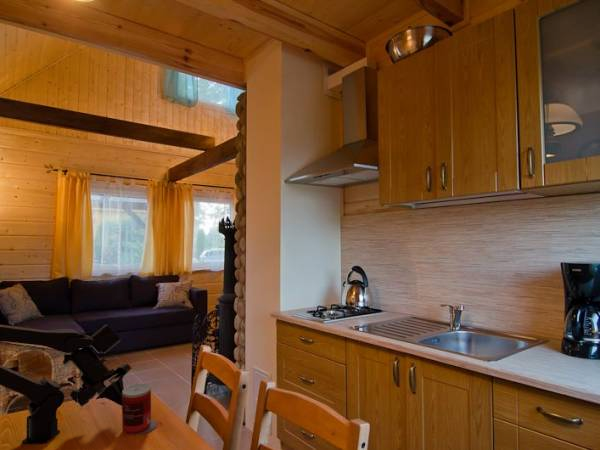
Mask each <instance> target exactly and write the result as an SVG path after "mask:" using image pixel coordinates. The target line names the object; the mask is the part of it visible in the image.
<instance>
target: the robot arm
mask: <svg viewBox="0 0 600 450" xmlns="http://www.w3.org/2000/svg"><path fill="white" fill-rule="evenodd" d="M121 341H122V340H121V339H120V337H119V336H118V334H117V333H116V332H115V331H113V330H112V328H110V326H109V325H107V324H104V325H103V326H102V327H100V329H98V330H97V331H96V332H94V333H93V334H92V335H87V334H81V333H79V332H77V331H76V330H75V329H72V328H61V329H60V328H58V329H51V330H50V329H49V330H45V329H35V328H29V327H21V326H13V325H5V324H0V342H4V343H15V344H26V345H33V346H42V347H46V348H50V349H53V350H55V351H58V352H61V353H66V354H64V355H63V361H62V364H63V365H64V366H65V367H66V366H67V365H69V364H70V363H72V364H73V366H75V367H76V368H77V370H78V371H79V372H80V373H81V376H80V380H81V381H82V384H81V385H80V386H79V387H78V388H74V389H73V390H72V391H71V393H70V394H69V396H70V397H71V399H72V401H74V402H75V403H77V404H78V405H79V406H80V407H81V408H82V407H84V406H85V405H87V404H88V403H89V402H90V400H92V399H93V398H94V397H95V396H96V394H97V396H96V398H95V399H96V400H99V399H107V400H109V401H111V402H114V403H115V404H117V405H119V406H121V407H122V391H123V389H125V387H124V380H123V379H124V377H125V376H126V375H127V374H128V373H129V372H130V371H131V370H132V367H131V366H130V364H128V363H123V364H121V365H120V366H118V367H117V368H116V369H114V368H111V369H109V367H108V366H107V365H106V364H105V363H106V361H107V360H106V359H105V358H103V359H100V357H99V356H98V354H106V353H107V352H109V351H110V350H111V349H112V348H113V347H115V346H117V345H118V344H119V343H120V342H121ZM91 347H92V348H91ZM93 349H94V350H95V351H94V350H93ZM95 352H96V353H98V354H96V353H95ZM0 386H1V387H4V388H5V389H8V390H11V391H12V392H16V393H18V394H20V395H22V396H25V398H27V399H28V400H29V401H30V402H29V403H28V404H27V410H28V412H29V415H28V416H27V417H26V436H25V437H26V438H24V439H23V440H21V443H22V444H37V445H39V444H46V443H47V442H49V441H50V440H52V439H53V438H54V437H56V436H57V435H59V434H60V433H61V429H58V425H59V424H58V422H59V419H58V418H57V412H58V408H59V409H60V407H61V406H62V404H63V403H64V401H65V393H64V392H63V390H62V387H61V385H60V384H59V382H58V381H57V380H51V379H50V378H48V377H47V376H45V375H43V377H42V379H41V380H39V379H38V380H37V379H33V378H31V377H28V376H26V375H24V374H21V373H20V372H18V371H16V370H13V369H11V368H8V367H6V366H5V365H2V364H0Z"/></svg>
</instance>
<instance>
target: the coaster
mask: <svg viewBox="0 0 600 450" xmlns="http://www.w3.org/2000/svg"><path fill="white" fill-rule="evenodd" d="M157 428H158V422H157V421H154V420H151V424H150V427H149V428H148V429H147V430H145V431H143V432H141V433H138V434H134V435H145V434H149V433H151V432H153V431H155V430H156V429H157Z"/></svg>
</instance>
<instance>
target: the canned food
mask: <svg viewBox="0 0 600 450" xmlns="http://www.w3.org/2000/svg"><path fill="white" fill-rule="evenodd" d="M151 389H152V388H151V385H150V384H147V383H135V384H131V385H129V386H126V387H124V389H123V391H122V406H121V421H122V423H121V424H122V431H123V432H124V433H125V434H127V435H128V434H129V435H135V434H138V433H141V432H143V431H145V430H147V429H148V428H149V427H150V424H151V421H152V390H151Z"/></svg>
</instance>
